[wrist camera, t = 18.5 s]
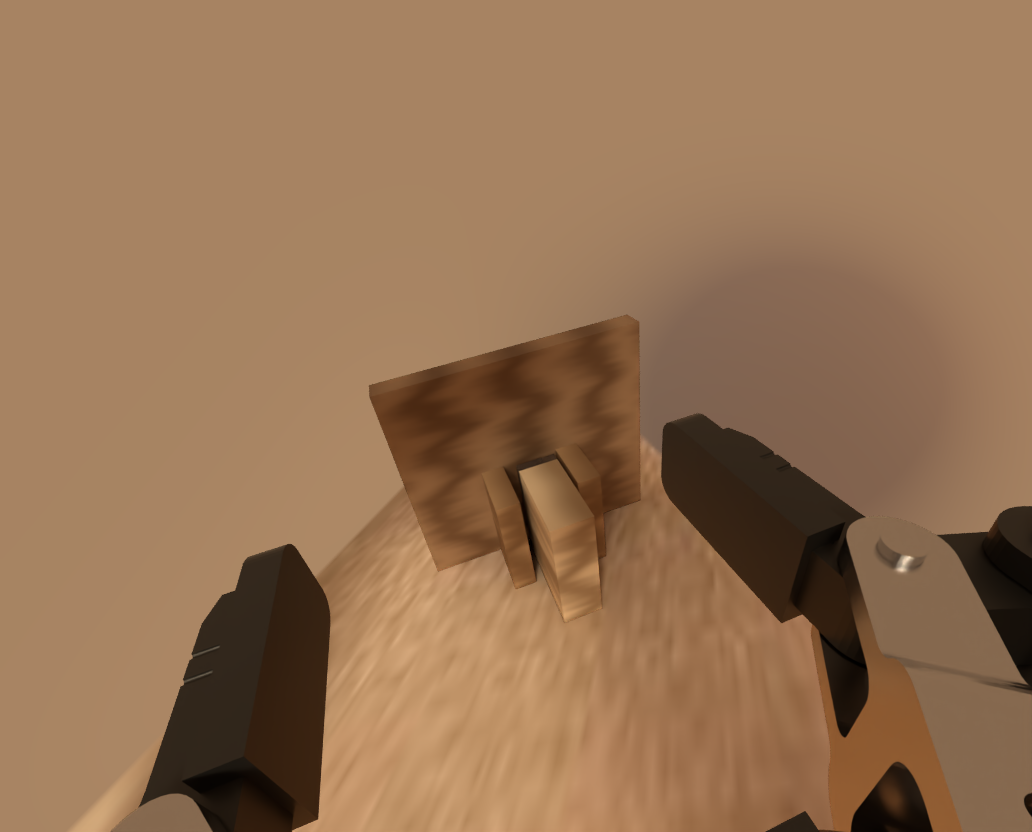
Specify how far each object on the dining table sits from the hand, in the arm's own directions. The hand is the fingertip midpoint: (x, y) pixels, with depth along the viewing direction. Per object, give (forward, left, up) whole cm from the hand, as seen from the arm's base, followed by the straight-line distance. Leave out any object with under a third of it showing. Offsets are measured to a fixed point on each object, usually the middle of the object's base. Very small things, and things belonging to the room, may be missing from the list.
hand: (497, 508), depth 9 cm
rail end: (+6, +18, -28) cm, 34 cm away
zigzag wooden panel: (+6, +22, -28) cm, 36 cm away
